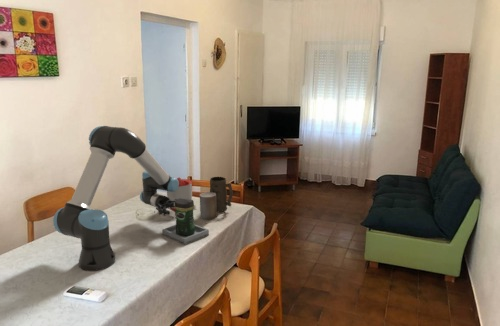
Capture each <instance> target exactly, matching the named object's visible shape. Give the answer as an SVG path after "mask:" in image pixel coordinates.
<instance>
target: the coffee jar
mask: <svg viewBox="0 0 500 326" xmlns="http://www.w3.org/2000/svg"><path fill="white" fill-rule="evenodd" d="M194 205H195V202H194V200H193V199H192V200H189V199H182V198H179V199H177V200H176V201H175V210H176V211H175V225H176V233H177V234H179V235H184V236H189V235H192V234H194V232H195V225H196V224H195V219H194V210H193V209H194ZM194 224H195V225H194Z"/></svg>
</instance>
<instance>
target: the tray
mask: <svg viewBox="0 0 500 326" xmlns="http://www.w3.org/2000/svg"><path fill="white" fill-rule="evenodd" d="M194 225H195V232H194V234H192V235H189V236H184V235H179V234H177V233H176V224H174V225H171V226H169V227H166V228H162V230H161V231H162V235H163V236H164V237H166V238H168V239H171V240H173V241H176V242H177V243H180V244H181V245H184V246H185V245H188V244H190V243H193V242H194V241H195V242H196V241H197V240H200V239H203V238H205V237H208V236H209V235H210V233H209V232H210V231H209V229H208V228H205V227H203V226H200V225H198V224H195V223H194Z"/></svg>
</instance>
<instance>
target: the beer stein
mask: <svg viewBox="0 0 500 326" xmlns="http://www.w3.org/2000/svg"><path fill="white" fill-rule="evenodd" d="M209 185H210V186H209V192H213V193H216V204H217V205H216V206H217V213H221V212H225V211H227V209H228V207H232V202H231V201H232V199H233V196H234V191H233V187H232V183H231V182H228V183H227V179H226V178H225V177H224V176H223V177H222V176H214V177H213V176H212V177H210V179H209ZM227 189H228V190H227ZM227 191H229V193H228V192H227Z"/></svg>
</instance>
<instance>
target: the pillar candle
mask: <svg viewBox="0 0 500 326" xmlns="http://www.w3.org/2000/svg"><path fill="white" fill-rule="evenodd" d="M216 205H217V204H216V193H213V192H210V191H208V192H207V191H205V192H202V193H200V194H199V209H200V210H199V211H200V213H199V215H200V218H201V219H202V220H207V221H208V220H214V219H216V218H217V217H218V215H217V214H218V212H217V206H216Z"/></svg>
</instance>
